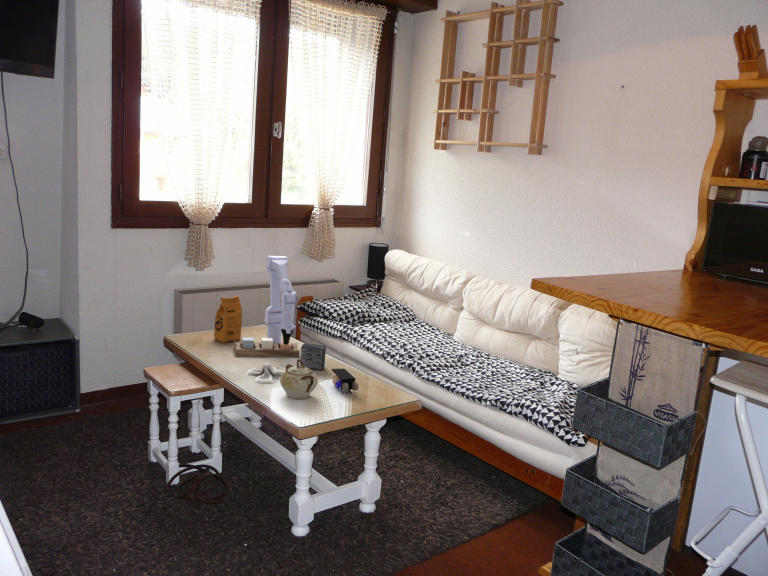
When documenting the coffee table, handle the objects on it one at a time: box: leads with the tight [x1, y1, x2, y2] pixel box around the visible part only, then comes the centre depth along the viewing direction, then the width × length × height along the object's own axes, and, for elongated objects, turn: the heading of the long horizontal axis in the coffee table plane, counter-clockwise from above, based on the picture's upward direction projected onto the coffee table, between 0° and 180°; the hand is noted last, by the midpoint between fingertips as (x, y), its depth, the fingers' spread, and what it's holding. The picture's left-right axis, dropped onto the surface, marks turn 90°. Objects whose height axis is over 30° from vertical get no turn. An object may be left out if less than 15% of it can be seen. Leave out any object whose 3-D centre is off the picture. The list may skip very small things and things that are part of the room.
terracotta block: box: [280, 341, 292, 349], centre depth 316 cm, size 5×5×4 cm
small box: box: [299, 342, 327, 372], centre depth 297 cm, size 11×6×10 cm, turn 84°
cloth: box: [245, 362, 285, 384], centre depth 282 cm, size 22×19×6 cm
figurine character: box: [331, 368, 359, 396], centre depth 272 cm, size 7×8×15 cm
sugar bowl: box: [279, 358, 319, 400], centre depth 260 cm, size 20×15×15 cm
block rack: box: [233, 341, 301, 358], centre depth 313 cm, size 12×30×3 cm, turn 105°
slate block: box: [242, 336, 255, 349], centre depth 310 cm, size 5×5×4 cm
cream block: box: [260, 337, 273, 349], centre depth 313 cm, size 5×5×4 cm
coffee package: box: [213, 295, 243, 343], centre depth 327 cm, size 10×12×22 cm
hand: (285, 344), depth 315 cm, fingers closed, pressing on terracotta block
